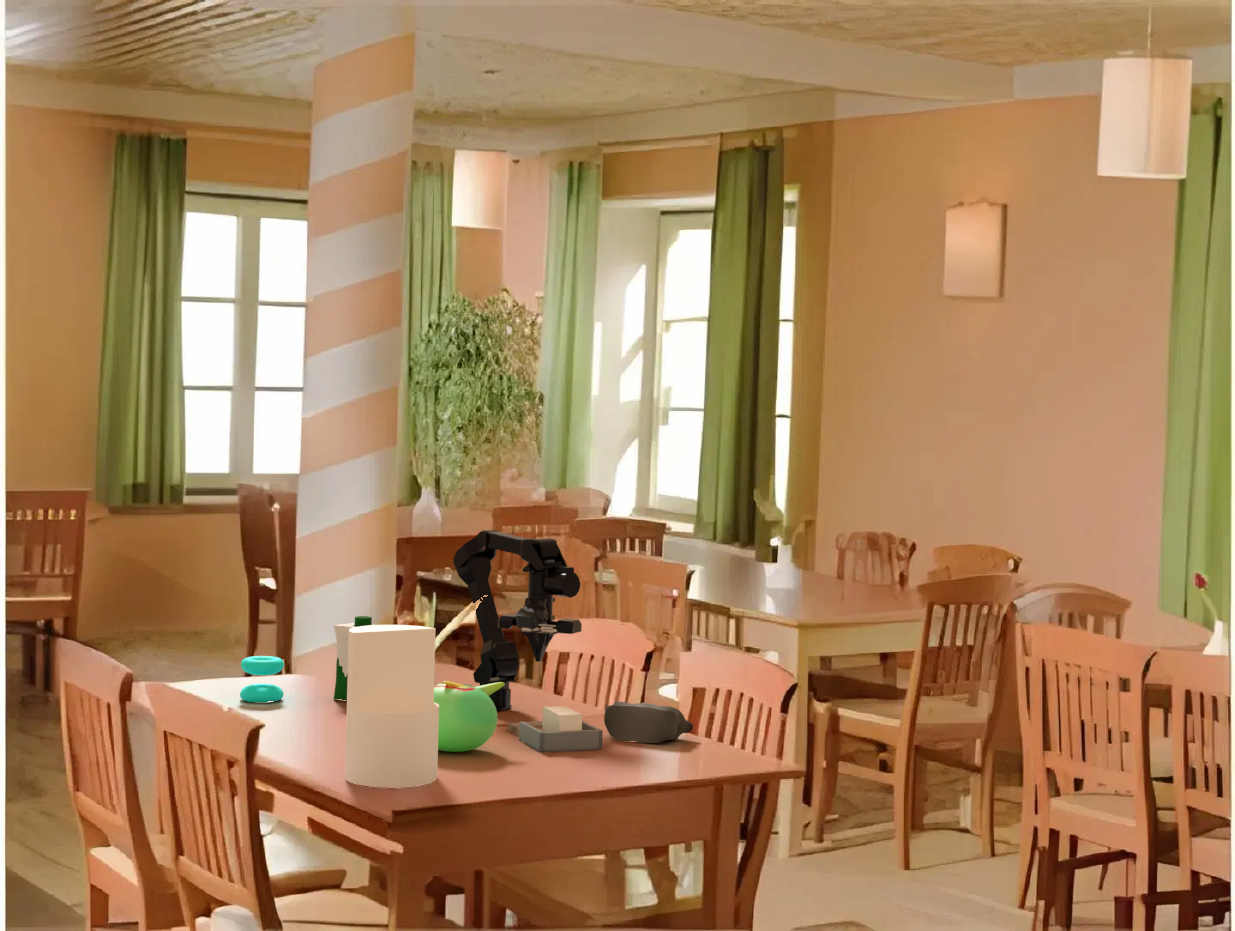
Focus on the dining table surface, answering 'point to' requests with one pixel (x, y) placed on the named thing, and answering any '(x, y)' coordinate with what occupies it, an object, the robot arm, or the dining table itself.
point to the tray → (561, 738)
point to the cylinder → (391, 706)
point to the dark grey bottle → (645, 722)
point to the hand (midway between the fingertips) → (538, 661)
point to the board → (514, 726)
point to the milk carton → (345, 654)
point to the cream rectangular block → (561, 719)
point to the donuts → (262, 667)
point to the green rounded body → (465, 715)
